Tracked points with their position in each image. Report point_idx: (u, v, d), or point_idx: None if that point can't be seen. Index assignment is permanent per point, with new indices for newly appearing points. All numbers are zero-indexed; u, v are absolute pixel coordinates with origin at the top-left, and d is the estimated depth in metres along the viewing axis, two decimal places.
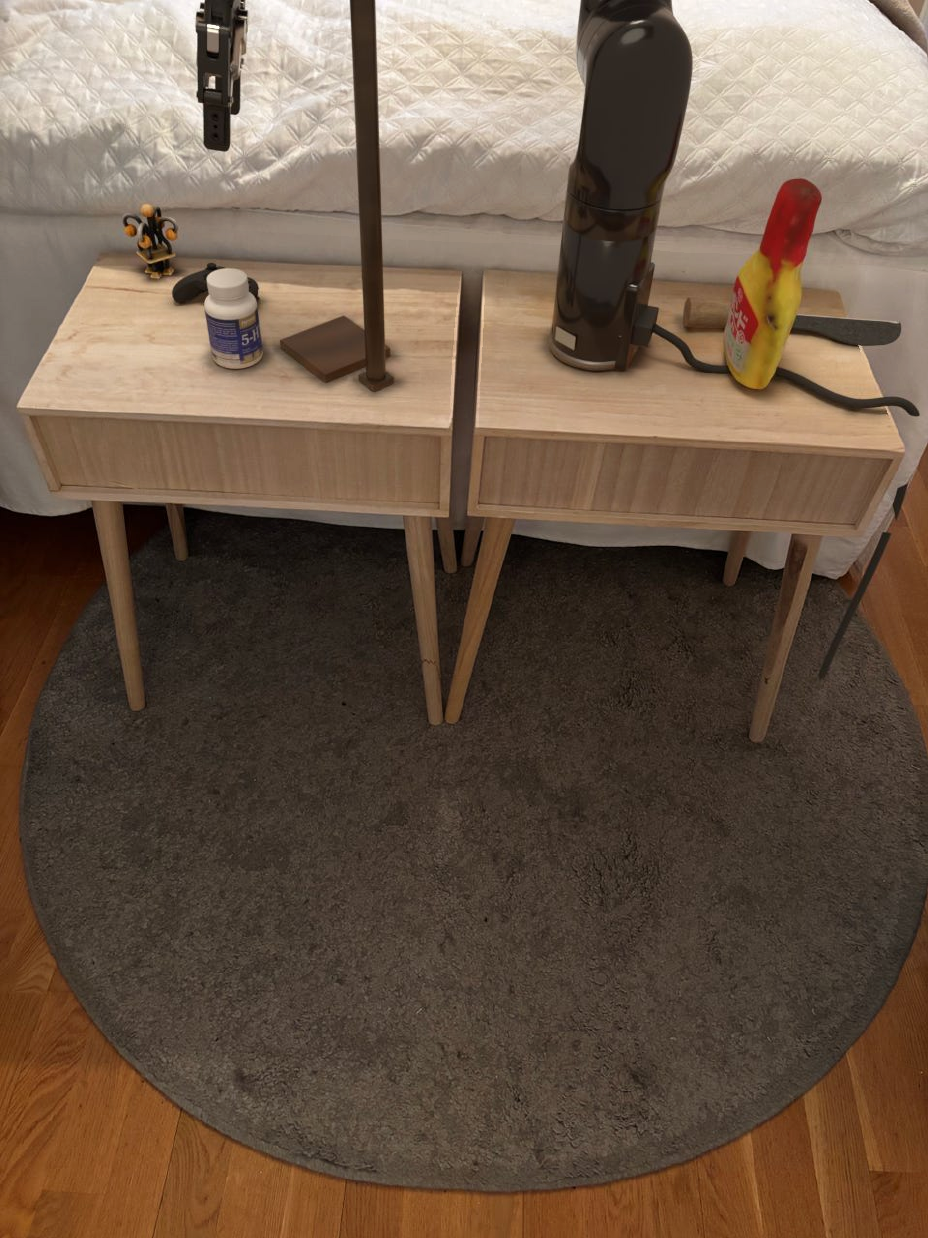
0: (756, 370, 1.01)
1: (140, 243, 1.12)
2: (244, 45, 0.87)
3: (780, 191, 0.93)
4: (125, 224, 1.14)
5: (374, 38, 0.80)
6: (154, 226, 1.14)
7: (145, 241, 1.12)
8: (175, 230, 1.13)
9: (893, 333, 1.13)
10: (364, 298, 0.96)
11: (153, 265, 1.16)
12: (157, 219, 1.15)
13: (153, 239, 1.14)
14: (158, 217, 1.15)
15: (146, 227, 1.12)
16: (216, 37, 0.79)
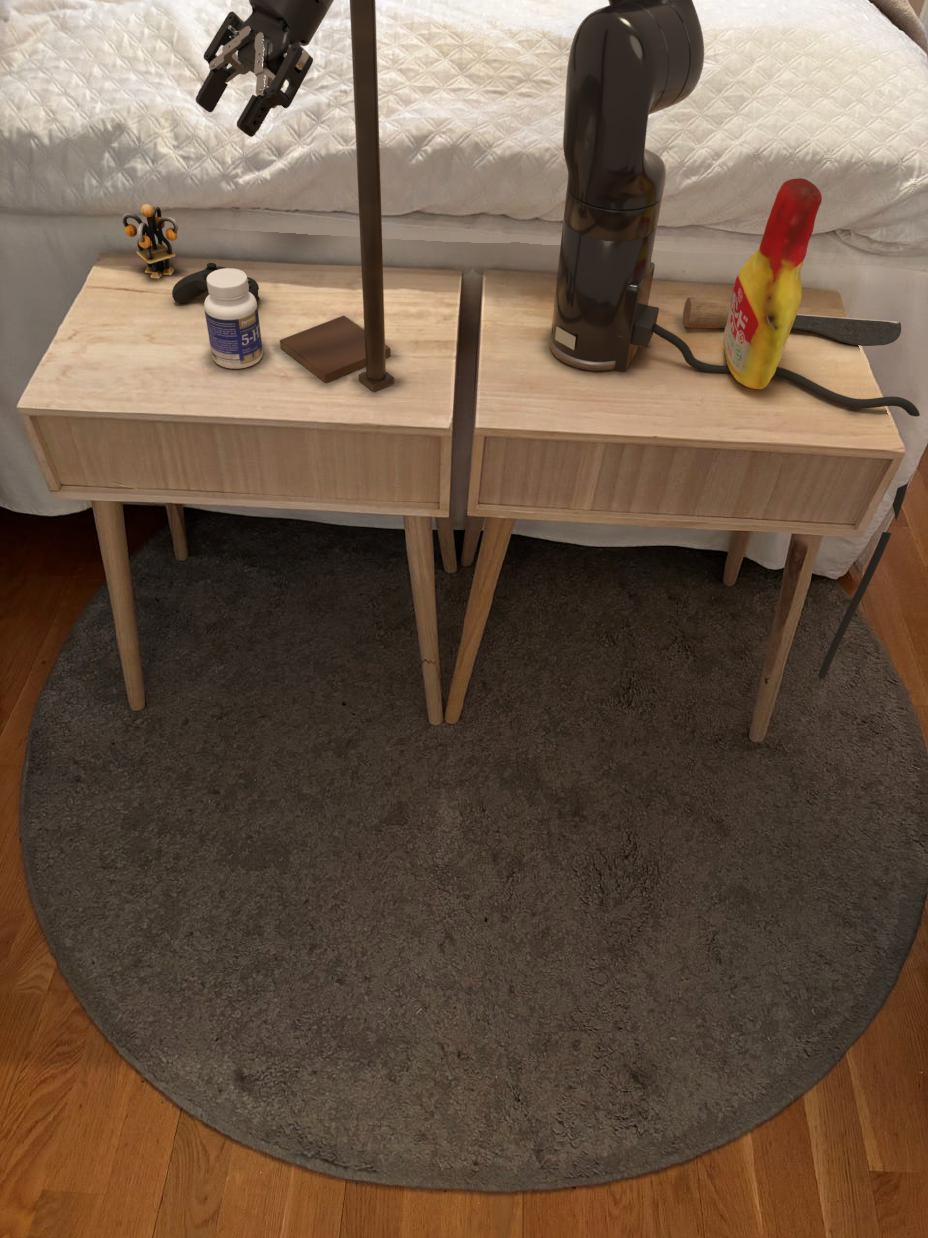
0: (756, 370, 1.01)
1: (140, 243, 1.12)
2: (255, 63, 1.08)
3: (780, 191, 0.93)
4: (125, 224, 1.14)
5: (374, 38, 0.80)
6: (154, 226, 1.14)
7: (145, 241, 1.12)
8: (175, 230, 1.13)
9: (893, 333, 1.13)
10: (364, 298, 0.96)
11: (153, 265, 1.16)
12: (157, 219, 1.15)
13: (153, 239, 1.14)
14: (158, 217, 1.15)
15: (146, 227, 1.12)
16: None
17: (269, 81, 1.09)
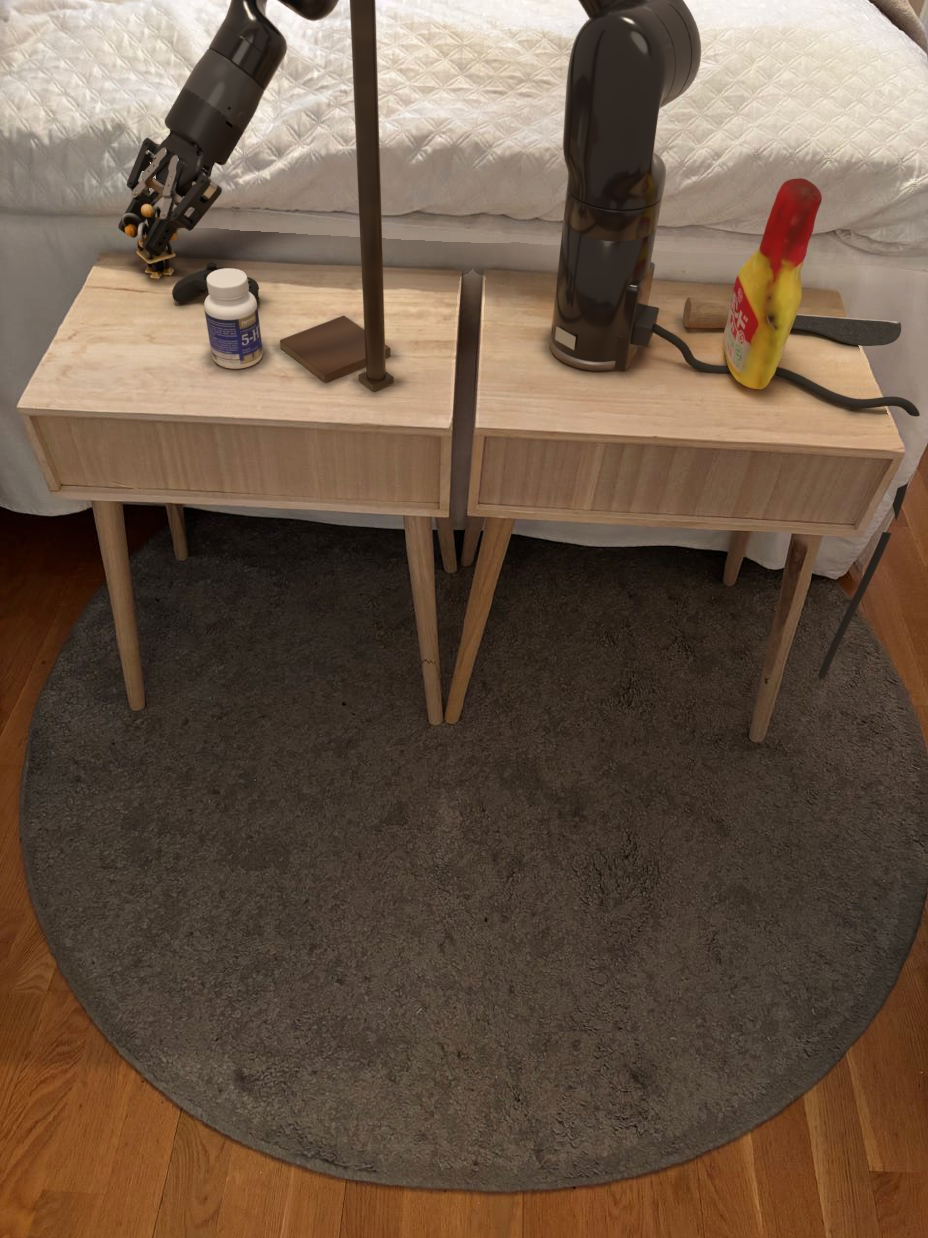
0: (756, 370, 1.01)
1: (140, 243, 1.12)
2: (165, 185, 1.10)
3: (780, 191, 0.93)
4: (125, 224, 1.14)
5: (374, 38, 0.80)
6: None
7: None
8: None
9: (893, 333, 1.13)
10: (364, 298, 0.96)
11: (153, 265, 1.16)
12: None
13: None
14: (158, 217, 1.15)
15: (146, 227, 1.12)
16: None
17: (177, 204, 1.11)
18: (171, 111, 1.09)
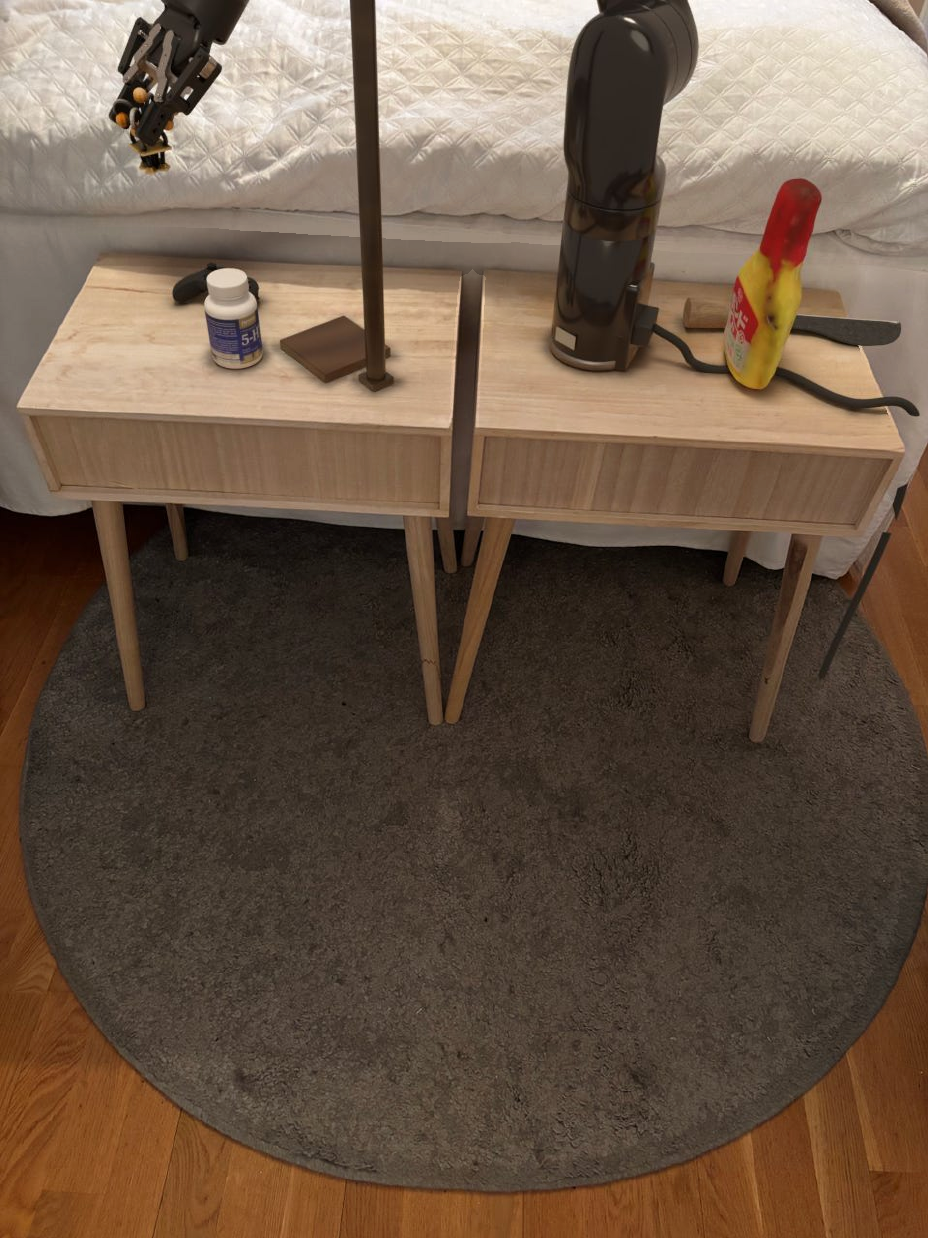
0: (756, 370, 1.01)
1: (132, 131, 1.01)
2: None
3: (780, 191, 0.93)
4: (116, 112, 1.03)
5: (374, 38, 0.80)
6: None
7: None
8: (171, 118, 1.02)
9: (893, 333, 1.13)
10: (364, 298, 0.96)
11: (147, 159, 1.05)
12: None
13: None
14: None
15: (139, 113, 1.01)
16: None
17: (173, 86, 1.00)
18: None
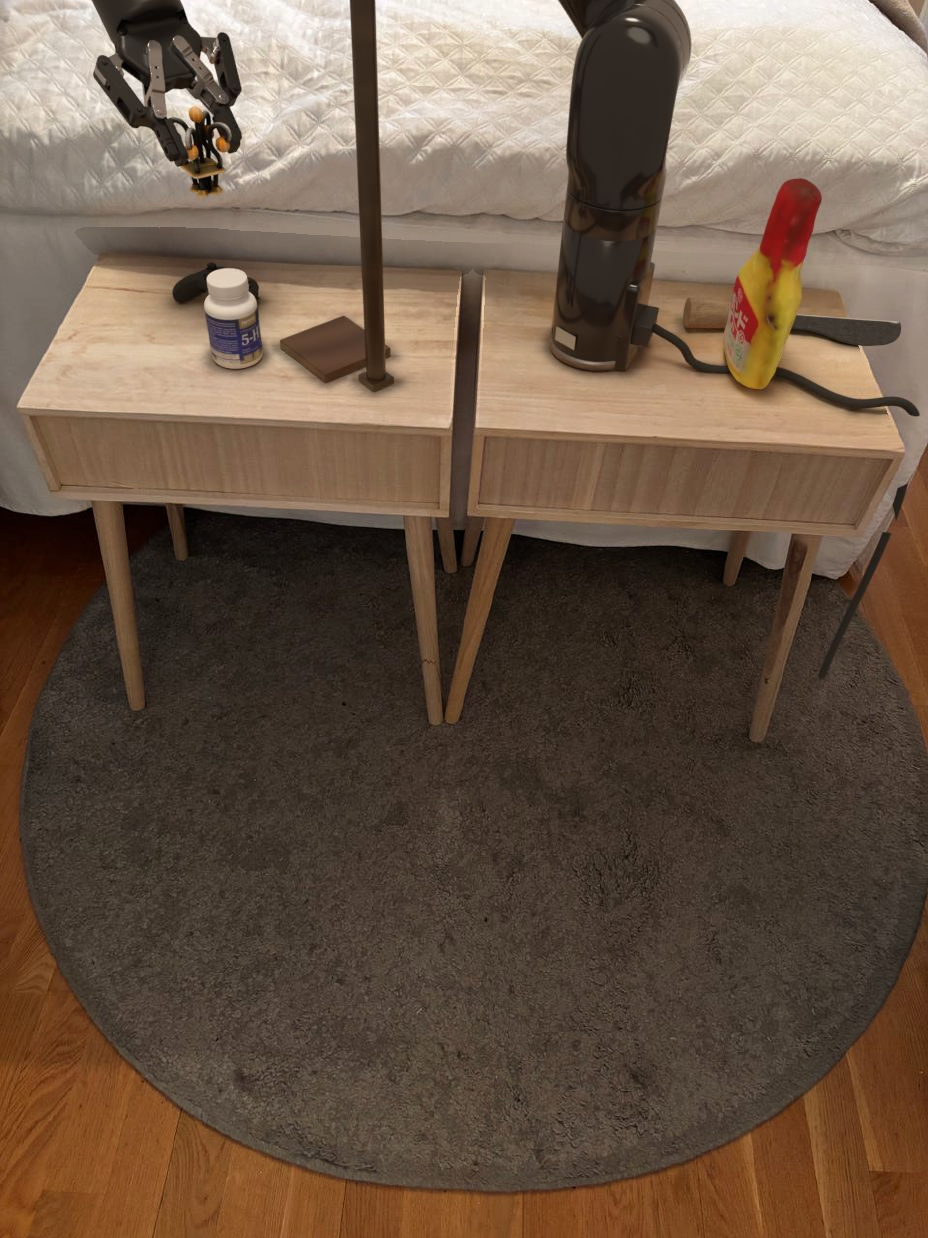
0: (756, 370, 1.01)
1: (227, 145, 0.96)
2: (195, 71, 0.95)
3: (780, 191, 0.93)
4: (191, 145, 0.94)
5: (374, 38, 0.80)
6: None
7: None
8: None
9: (893, 333, 1.13)
10: (364, 298, 0.96)
11: None
12: None
13: None
14: None
15: None
16: (98, 72, 0.92)
17: None
18: None
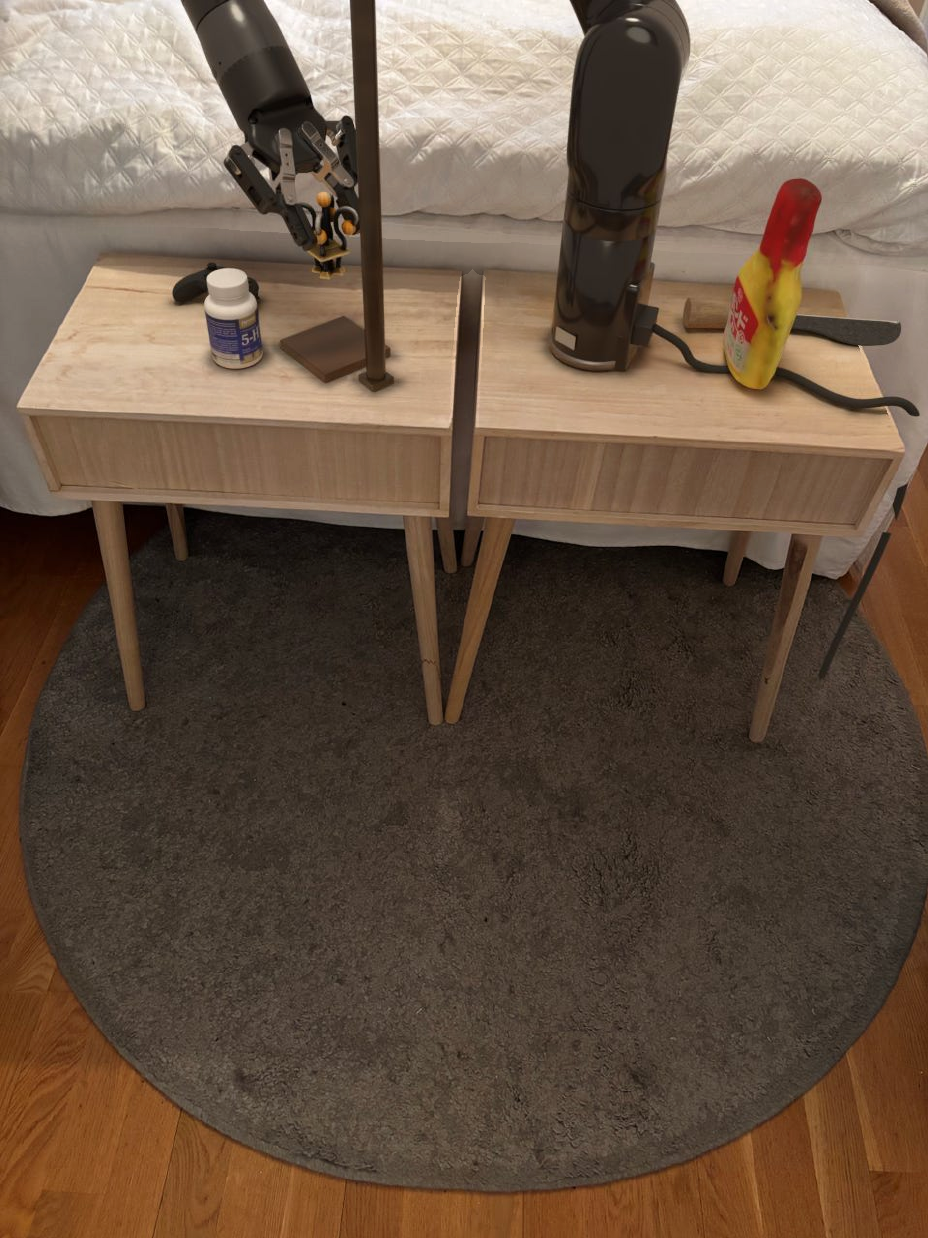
0: (756, 370, 1.01)
1: (354, 228, 0.97)
2: (322, 156, 0.95)
3: (780, 191, 0.93)
4: (320, 230, 0.94)
5: (374, 38, 0.80)
6: None
7: None
8: None
9: (893, 333, 1.13)
10: (364, 298, 0.96)
11: None
12: None
13: (328, 232, 0.98)
14: None
15: None
16: (231, 161, 0.92)
17: None
18: (274, 80, 0.91)
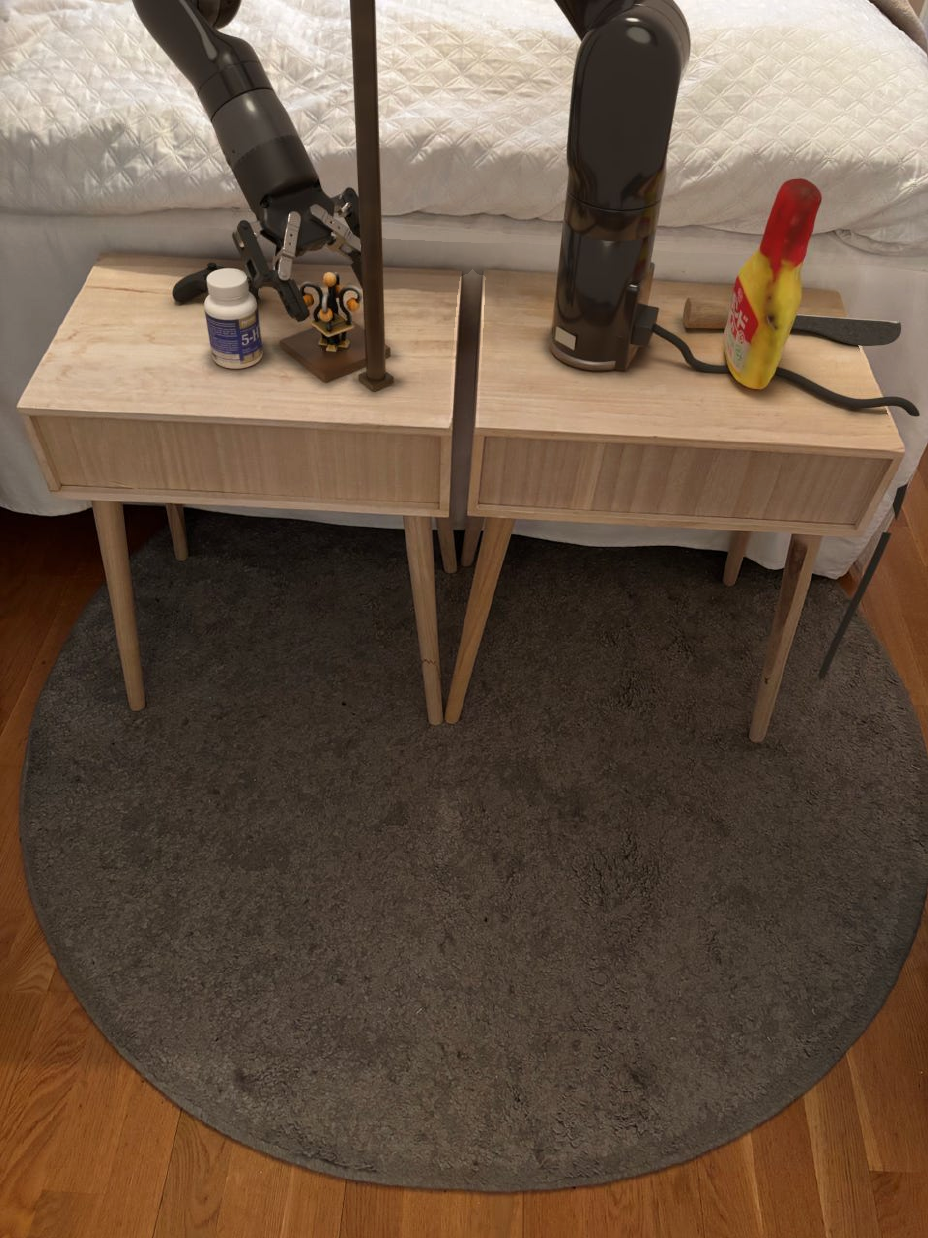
0: (756, 370, 1.01)
1: (358, 306, 1.02)
2: (335, 232, 1.01)
3: (780, 191, 0.93)
4: (327, 309, 1.00)
5: (374, 38, 0.80)
6: None
7: None
8: (339, 282, 1.04)
9: (893, 333, 1.13)
10: (364, 298, 0.96)
11: (346, 332, 1.05)
12: (310, 295, 1.02)
13: (333, 308, 1.03)
14: (307, 293, 1.02)
15: None
16: (237, 233, 0.97)
17: None
18: (284, 168, 0.96)
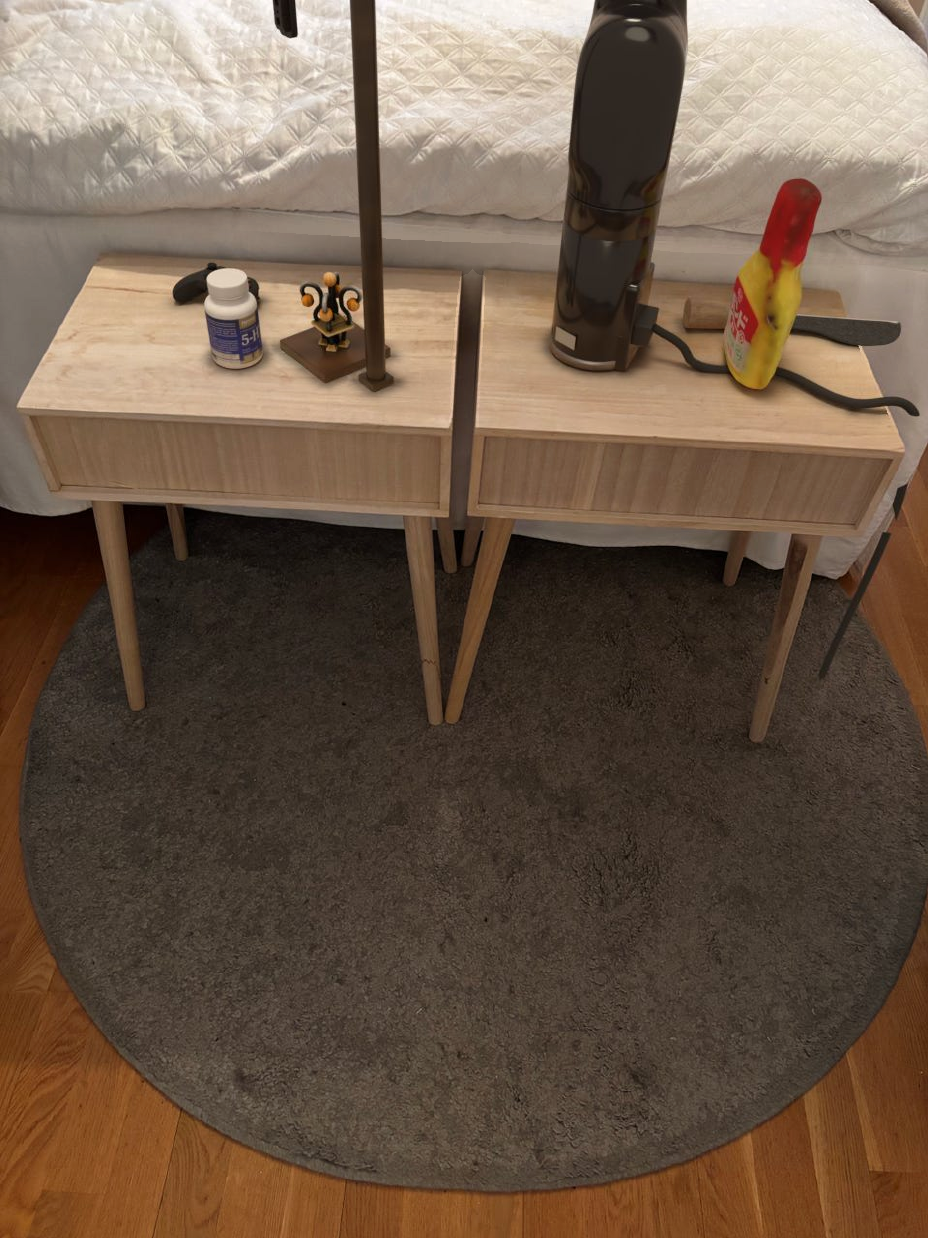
0: (756, 370, 1.01)
1: (358, 305, 1.02)
2: None
3: (780, 191, 0.93)
4: (327, 309, 1.00)
5: (374, 38, 0.80)
6: None
7: None
8: (339, 282, 1.04)
9: (893, 333, 1.13)
10: (364, 298, 0.96)
11: (346, 332, 1.05)
12: (311, 295, 1.02)
13: (334, 308, 1.03)
14: (307, 293, 1.02)
15: None
16: None
17: None
18: None
